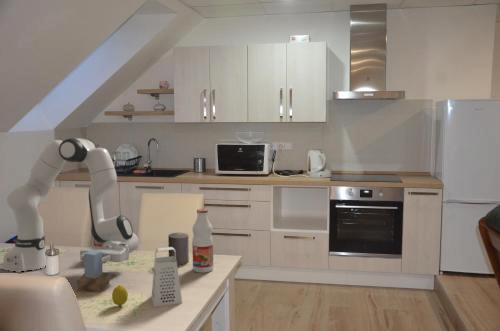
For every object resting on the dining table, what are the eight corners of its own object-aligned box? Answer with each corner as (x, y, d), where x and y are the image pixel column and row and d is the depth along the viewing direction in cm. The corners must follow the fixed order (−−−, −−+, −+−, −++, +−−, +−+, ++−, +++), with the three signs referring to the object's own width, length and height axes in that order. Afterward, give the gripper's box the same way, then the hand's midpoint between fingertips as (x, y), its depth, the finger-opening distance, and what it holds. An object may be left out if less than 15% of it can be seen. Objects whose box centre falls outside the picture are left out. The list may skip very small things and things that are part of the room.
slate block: (84, 277, 191) (83, 253, 190) (92, 273, 196) (91, 250, 195) (95, 278, 190) (94, 254, 189) (102, 274, 194) (101, 251, 193)
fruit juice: (217, 269, 215) (216, 209, 212) (201, 274, 208) (200, 212, 205) (205, 265, 221) (204, 206, 219) (188, 269, 215) (187, 209, 212)
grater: (182, 303, 176) (181, 251, 174) (153, 306, 173) (152, 253, 171) (178, 293, 186) (177, 244, 184) (151, 296, 183) (150, 246, 181)
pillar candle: (164, 262, 225) (163, 232, 224) (180, 258, 232) (180, 228, 231) (177, 267, 219) (176, 236, 217) (193, 262, 226) (192, 232, 224)
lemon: (114, 303, 176) (113, 282, 175) (129, 303, 176) (128, 282, 176) (111, 309, 170) (110, 288, 170) (126, 308, 171) (125, 287, 170)
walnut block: (77, 292, 188) (76, 280, 188) (85, 283, 198) (85, 272, 198) (102, 292, 188) (101, 280, 188) (109, 283, 198) (108, 272, 198)
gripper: (92, 241, 207) (70, 249, 194) (131, 245, 200) (111, 254, 188) (92, 255, 208) (70, 264, 195) (132, 259, 201) (112, 269, 188)
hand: (91, 259), depth 191 cm, fingers open, 8 cm apart
